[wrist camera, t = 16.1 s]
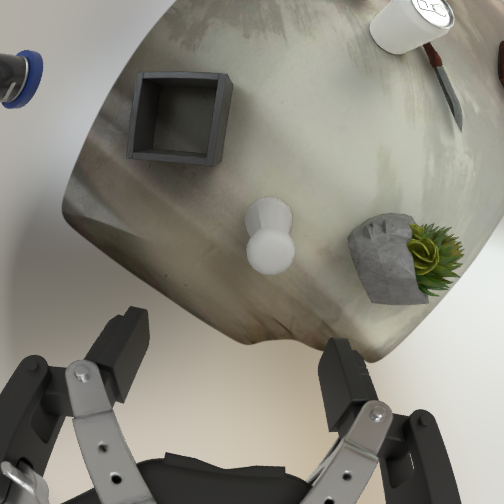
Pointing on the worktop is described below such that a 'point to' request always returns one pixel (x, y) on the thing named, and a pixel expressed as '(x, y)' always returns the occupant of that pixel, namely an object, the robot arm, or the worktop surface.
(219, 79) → the holder
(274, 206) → the salt shaker
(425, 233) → the potted plant
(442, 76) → the knife
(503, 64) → the pastry
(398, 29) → the can
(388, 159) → the worktop surface
